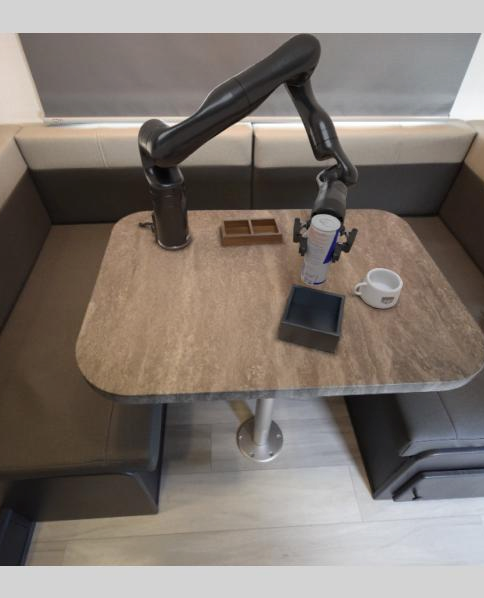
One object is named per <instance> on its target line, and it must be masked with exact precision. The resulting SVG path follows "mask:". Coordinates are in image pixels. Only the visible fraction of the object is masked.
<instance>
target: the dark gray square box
mask: <svg viewBox="0 0 484 598" xmlns="http://www.w3.org/2000/svg"><path fill="white" fill-rule="evenodd" d="M345 304H346V295H344V294H341V293H340V294H339V293H335V292H330V291H326V290H321V289H318V288H313V287H308V286H304V285H300V284H295V283H292V284H291V287H290V291H289V294H288V297H287V300H286V305H285V307H284V311H283V313H282V316H281V320H280V324H279V332H278V338H277V339H278V340H280V341H283V342H284V341H285V342H288V343H292V344H296V345H300V346H303V347H308V348H311V349H316V350H318V351H322V352H327V353H331V354H334V353H335V351H336V348H337V346H338V343H339V340H340V337H341V331H342V325H343V318H344V311H345Z"/></svg>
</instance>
